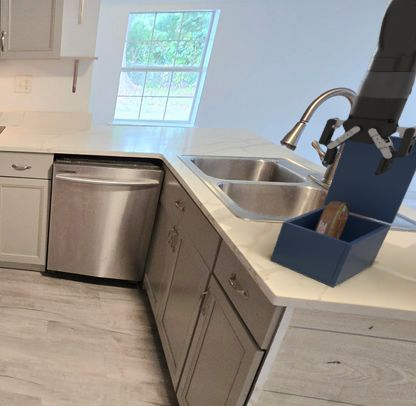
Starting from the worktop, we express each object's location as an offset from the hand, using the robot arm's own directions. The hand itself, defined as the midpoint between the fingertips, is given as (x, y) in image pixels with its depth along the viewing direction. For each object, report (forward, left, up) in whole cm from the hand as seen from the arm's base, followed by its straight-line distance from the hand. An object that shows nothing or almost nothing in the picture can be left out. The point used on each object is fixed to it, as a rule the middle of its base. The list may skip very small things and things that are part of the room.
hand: (352, 169), depth 81 cm
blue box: (-1, +1, -24) cm, 24 cm away
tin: (0, -3, -17) cm, 17 cm away
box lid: (-1, -7, -3) cm, 7 cm away
